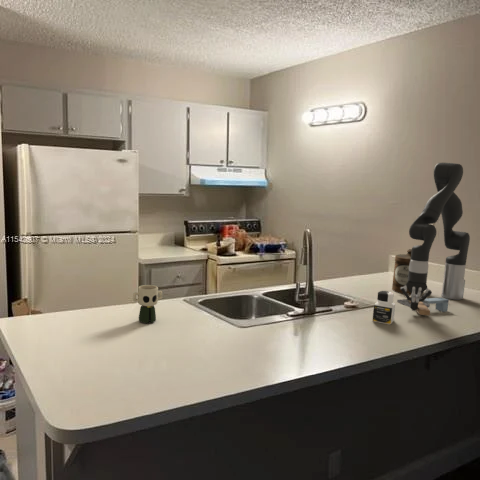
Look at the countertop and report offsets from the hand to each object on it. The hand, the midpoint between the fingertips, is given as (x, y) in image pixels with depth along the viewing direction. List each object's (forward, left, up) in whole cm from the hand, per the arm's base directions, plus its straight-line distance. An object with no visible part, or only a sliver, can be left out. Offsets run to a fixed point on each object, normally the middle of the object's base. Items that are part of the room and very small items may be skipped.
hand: (413, 310), depth 200 cm
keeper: (-14, -3, -2) cm, 14 cm away
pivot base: (-12, -14, -2) cm, 18 cm away
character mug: (+111, -16, -2) cm, 112 cm away
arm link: (-7, -5, -1) cm, 9 cm away
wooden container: (-28, -36, -2) cm, 46 cm away
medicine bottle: (+20, +4, -2) cm, 20 cm away
